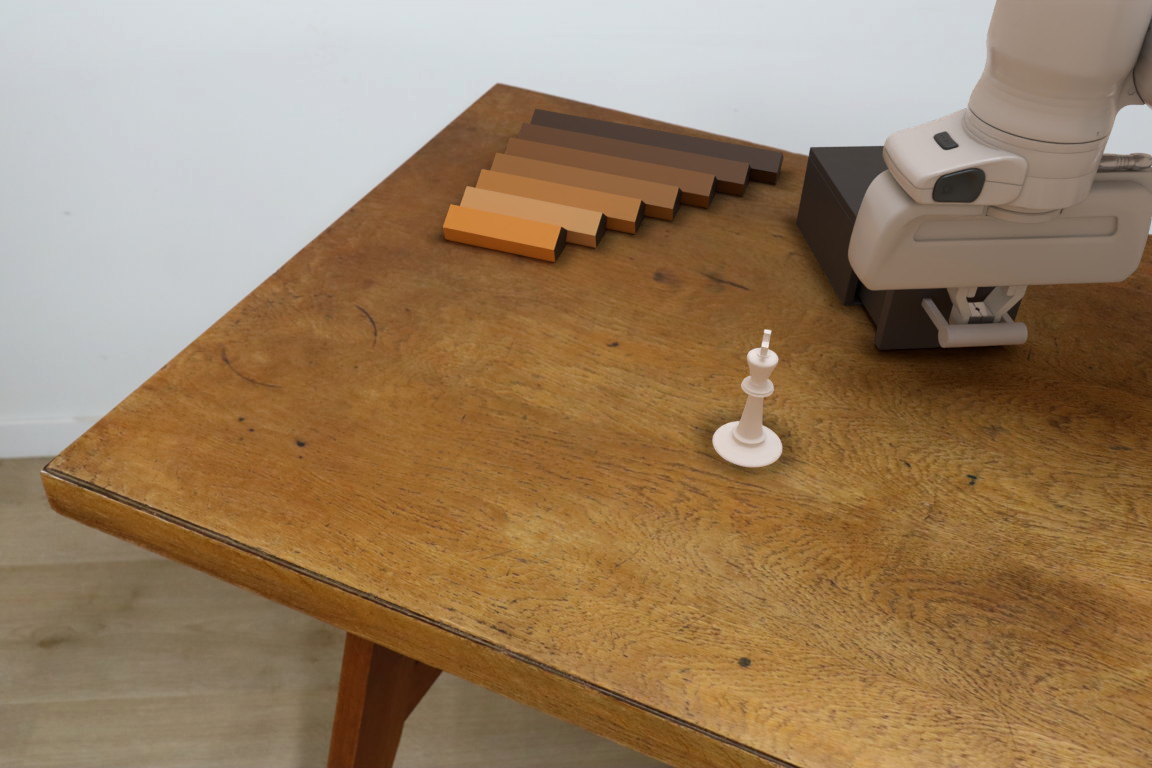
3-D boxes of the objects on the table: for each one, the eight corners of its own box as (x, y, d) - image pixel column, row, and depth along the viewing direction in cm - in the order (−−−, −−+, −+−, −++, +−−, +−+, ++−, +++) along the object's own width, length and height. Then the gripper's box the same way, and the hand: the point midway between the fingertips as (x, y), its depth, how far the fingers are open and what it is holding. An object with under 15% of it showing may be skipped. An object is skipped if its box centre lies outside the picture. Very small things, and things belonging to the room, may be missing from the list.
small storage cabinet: (976, 307, 92) (1003, 221, 87) (841, 312, 90) (861, 225, 85) (915, 225, 102) (937, 144, 97) (794, 228, 101) (810, 146, 96)
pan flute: (780, 176, 109) (540, 132, 114) (785, 144, 107) (541, 101, 112) (727, 308, 90) (443, 248, 96) (733, 272, 88) (442, 213, 93)
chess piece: (705, 467, 75) (723, 346, 68) (715, 422, 78) (733, 304, 72) (778, 481, 74) (803, 360, 68) (785, 435, 78) (809, 317, 71)
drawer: (1037, 386, 82) (1064, 316, 78) (903, 393, 81) (924, 321, 77) (944, 260, 96) (962, 195, 92) (828, 264, 94) (842, 198, 91)
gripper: (1148, 132, 76) (1083, 300, 85) (862, 136, 74) (825, 309, 82) (1200, 175, 71) (1125, 349, 80) (895, 181, 69) (852, 360, 77)
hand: (971, 329), depth 81 cm, fingers closed
